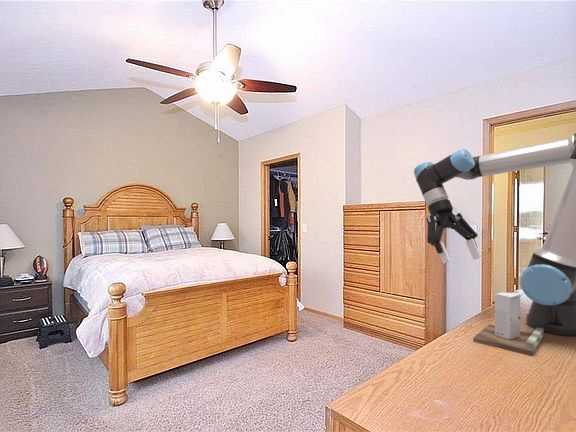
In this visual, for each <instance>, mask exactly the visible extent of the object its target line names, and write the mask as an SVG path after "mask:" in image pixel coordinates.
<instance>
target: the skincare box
mask: <svg viewBox="0 0 576 432" xmlns="http://www.w3.org/2000/svg"><path fill="white" fill-rule="evenodd" d="M494 296H495V297H494V325H495V335H496V336H499V337H502V338H505V339H509V340H510V339H513V338H517V337H519V336H520V331H521V294H520V293H513V292H509V291H504V292H503V291H502V292H499V293H495V294H494Z"/></svg>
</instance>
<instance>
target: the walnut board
mask: <svg viewBox="0 0 576 432" xmlns="http://www.w3.org/2000/svg"><path fill="white" fill-rule="evenodd" d="M543 341H544V331H543V329H542V328H536V329H534V331H533V332H528V331H522V330H520V336H519V337H517V338H513V339H510V340H509V339H505V338H502V337H499V336H496V335H495V324H488V325H486V326H485V327H484V328H482V330H480V331H479V332H478V333H477V334H476V335H475V336H473V342H475V343H478V344H483V345H487V346H491V347H493V348H498V349H503V350H506V351H511V352H515V353H519V354H523V355H527V356H531V357H534V355H535V354H536V352H537V350H538V349H539V347H540V346H541V344H542V342H543Z"/></svg>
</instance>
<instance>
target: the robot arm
mask: <svg viewBox="0 0 576 432" xmlns="http://www.w3.org/2000/svg"><path fill="white" fill-rule="evenodd" d="M472 155H473V154H471V152H470V151H468V150H467V149H466V148H461V149H458V150H457V151H454V152H452V153H451V154H450V155H447V156H446V157H445V158H443V159H440V160H439V161H437V162H436V163H434V162H432V161H425V162H423V163H419V164H418V165H417V166H416V167H414V169H413V174H414V177H415V181H416V183H417V185H418V188H419V189H420V192H421V194H422V197H423V199H424V202H425V203H426V206H427V209H428V212H429V214H430V215H429V216H428V217H426V222H427V237H426V238H427V239H426V241H427V243H428V244H429V245H431V246H432V247H434V248H435V251H436V253H437V254H438V255H439V257H440V260H441V263H442V264H444V265H445V264H447V263H449V262H451V259H450V256H449V254H448V251H447V249H446V246H445V244H444V242H443V241H441V239H442V236H443V233H444V229H451V230H454V231H455V232H456V233H458V234H459V235H460V236H461V237H462V238H464V239H465V240H466V241H465V244H466V247H467V248H468V250H469V253H470V255H471V257H472V259H473V260H477V259H479V258H481V257H482V255H481V253H480V251H479V249H478V244H477V242H476V241H475V239H476V238H477V237H478V236H479V234H478V233H477V231H475V230H474V229H473V228H472V226H471V225H470V224H469V223H468V222H467V221H466V219H464V217H463V216H462V214H461V213H460V212H458V213H456V214H454V213H453V209H454V207H453V205H452V202H451V201H450V199H449V196H448V193H447V192H446V189H445V187H444V183H447V182H449V181H451V180H453V179H455V178H458V179H463V180H465V181H466V180H467V181H468V180H475V179H477V178H481V177H487V176H494V175H500V174H506V173H512V172H520V171H525V170H531V169H532V170H533V169H537V168H538V169H540V168H545V167H551V166H557V165H565V164H570V165H572V170H571V173H570V176H569V178H568V181H567V183H566V186H565V187H564V188H565V189H564V191H563V194H562V196H561V198H560V201H559V204H558V206H557V208H556V211H555V213H554V217H553V219H552V222H551V224H550V226H549V229H548V232H547V234H546V237H545V238H544V242H543V244H542V247H541V248H539V249H536V250H534V251H533V253H532V256H531V257H530V261H529V262H528V264H527V268H526V269H524V270H523V272H522V273H521V276H520V279H519V281H520V283H519V284H520V287H521V290H522V291H523V293H524V295H525V296H526V297H527V298H528V299H530V300H531V301H532V303H531V305H530V308H529V310H528V313H527V314H526V316H525V324H526V325H527V326H528V327H530V328H533V329H534V330H535V329H536V328H542V329H543V333H549V334H554V335H560V336H572V337H573V336H574V337H575V336H576V132H575V133H572V134H571V135H570V136H569V137H567V138H562V139H559V140H551V141H547V142H544V143H537V144H534V145H527V146H523V147H518V148H513V149H508V150H504V151H503V150H502V151H498V152H493V153H488V154H483V155H478V156H472Z"/></svg>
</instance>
